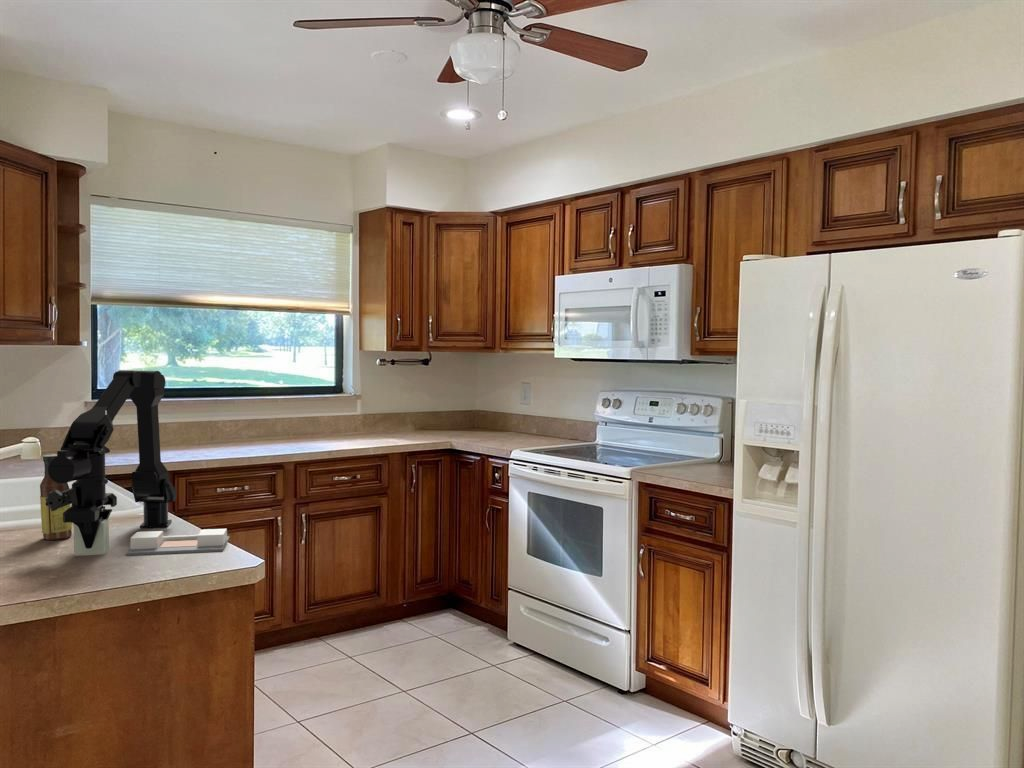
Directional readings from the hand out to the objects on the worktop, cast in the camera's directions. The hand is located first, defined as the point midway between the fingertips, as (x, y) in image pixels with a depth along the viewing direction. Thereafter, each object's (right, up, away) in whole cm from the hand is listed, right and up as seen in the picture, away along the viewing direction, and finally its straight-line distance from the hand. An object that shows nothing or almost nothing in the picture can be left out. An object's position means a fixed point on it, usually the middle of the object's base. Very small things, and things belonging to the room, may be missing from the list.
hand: (91, 545), depth 175 cm
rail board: (+17, -1, +6) cm, 18 cm away
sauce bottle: (-15, -1, +13) cm, 20 cm away
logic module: (0, -2, 0) cm, 2 cm away
